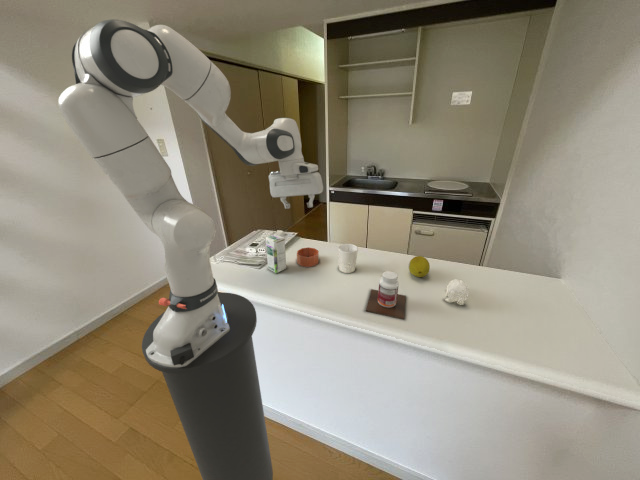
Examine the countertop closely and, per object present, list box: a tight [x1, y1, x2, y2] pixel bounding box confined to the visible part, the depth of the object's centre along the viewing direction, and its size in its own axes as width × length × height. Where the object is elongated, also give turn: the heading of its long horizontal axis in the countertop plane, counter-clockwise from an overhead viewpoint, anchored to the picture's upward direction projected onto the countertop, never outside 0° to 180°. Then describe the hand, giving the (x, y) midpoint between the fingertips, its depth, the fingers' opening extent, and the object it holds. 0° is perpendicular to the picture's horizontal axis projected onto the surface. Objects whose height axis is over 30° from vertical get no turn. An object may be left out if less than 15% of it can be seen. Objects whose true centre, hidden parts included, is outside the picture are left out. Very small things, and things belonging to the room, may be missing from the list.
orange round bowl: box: [296, 247, 320, 268], centre depth 113 cm, size 9×10×4 cm
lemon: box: [408, 255, 431, 278], centre depth 101 cm, size 11×8×8 cm
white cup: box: [337, 243, 359, 274], centre depth 105 cm, size 8×8×10 cm
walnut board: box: [365, 288, 407, 320], centre depth 87 cm, size 12×12×1 cm
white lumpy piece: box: [444, 278, 470, 306], centre depth 88 cm, size 6×8×12 cm
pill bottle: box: [378, 270, 400, 308], centre depth 84 cm, size 6×6×11 cm
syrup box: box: [265, 234, 287, 274], centre depth 105 cm, size 6×6×14 cm
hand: (298, 207), depth 94 cm, fingers open, 8 cm apart
